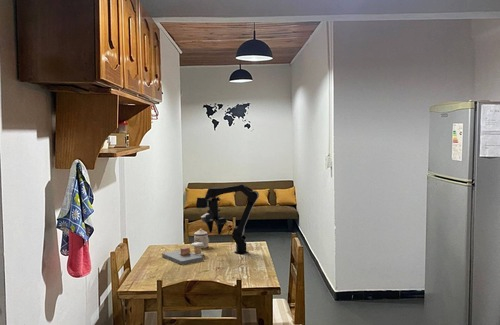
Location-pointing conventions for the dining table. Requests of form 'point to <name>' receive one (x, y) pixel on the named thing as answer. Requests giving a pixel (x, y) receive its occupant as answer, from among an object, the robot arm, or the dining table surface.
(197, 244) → the spool
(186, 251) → the brown rectangular block
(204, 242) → the white printed mug
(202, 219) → the robot arm
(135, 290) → the dining table surface
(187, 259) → the slotted board
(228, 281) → the dining table surface
